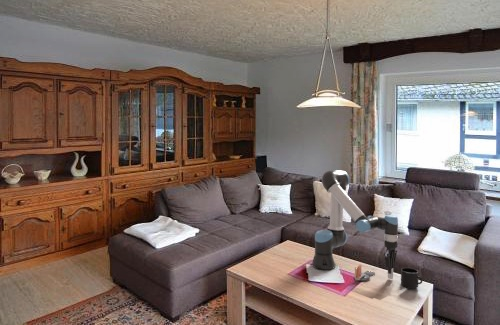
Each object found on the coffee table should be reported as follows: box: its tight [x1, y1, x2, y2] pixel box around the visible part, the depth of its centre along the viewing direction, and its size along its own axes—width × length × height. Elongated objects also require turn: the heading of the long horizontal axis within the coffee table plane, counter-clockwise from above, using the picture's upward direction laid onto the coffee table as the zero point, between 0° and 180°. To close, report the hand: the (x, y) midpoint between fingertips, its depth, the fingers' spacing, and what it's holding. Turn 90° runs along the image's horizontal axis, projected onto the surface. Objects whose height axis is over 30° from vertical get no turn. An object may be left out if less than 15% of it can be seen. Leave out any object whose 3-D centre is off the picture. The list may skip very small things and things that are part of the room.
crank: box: [356, 264, 366, 280], centre depth 215 cm, size 10×4×8 cm, turn 144°
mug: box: [400, 267, 423, 289], centre depth 206 cm, size 9×12×9 cm
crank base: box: [354, 267, 371, 282], centre depth 217 cm, size 9×11×8 cm
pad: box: [363, 270, 376, 277], centre depth 227 cm, size 11×11×1 cm
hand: (390, 278), depth 216 cm, fingers closed
